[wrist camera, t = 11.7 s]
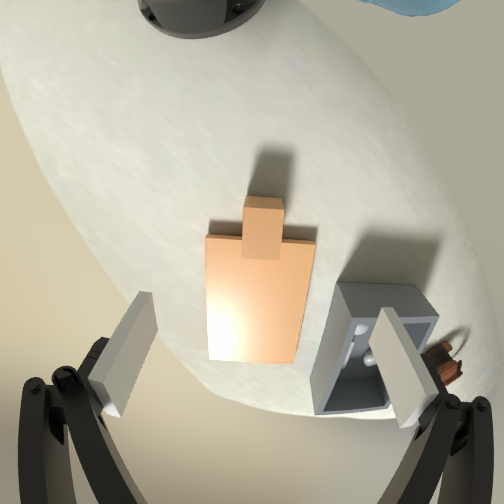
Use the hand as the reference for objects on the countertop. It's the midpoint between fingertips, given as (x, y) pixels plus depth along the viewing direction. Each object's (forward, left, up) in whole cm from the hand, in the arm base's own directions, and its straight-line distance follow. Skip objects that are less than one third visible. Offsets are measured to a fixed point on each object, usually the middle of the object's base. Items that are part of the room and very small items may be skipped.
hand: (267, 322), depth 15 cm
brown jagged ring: (+26, +36, -20) cm, 48 cm away
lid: (+10, 0, -20) cm, 22 cm away
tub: (+18, +17, -20) cm, 32 cm away
